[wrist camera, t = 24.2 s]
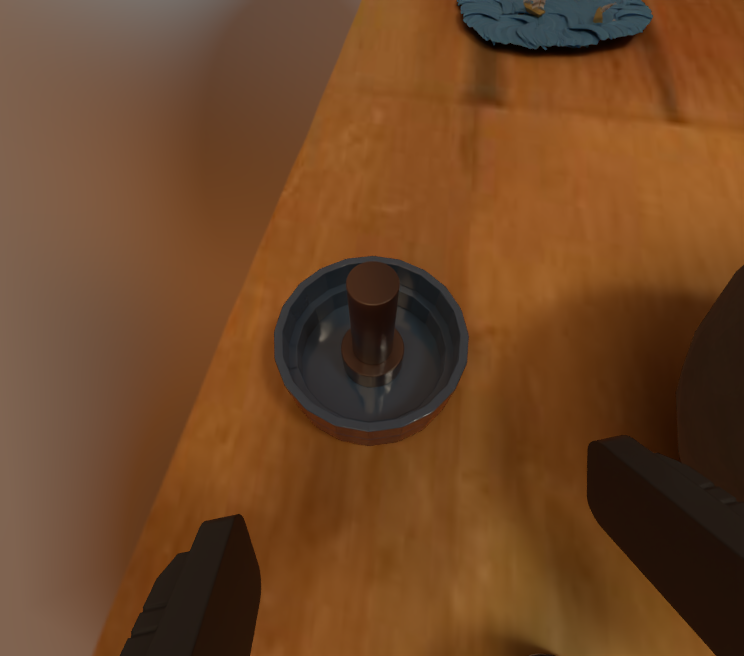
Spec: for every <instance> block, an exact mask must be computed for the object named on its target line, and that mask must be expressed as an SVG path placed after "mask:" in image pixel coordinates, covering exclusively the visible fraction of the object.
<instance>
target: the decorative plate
mask: <svg viewBox="0 0 744 656" xmlns="http://www.w3.org/2000/svg"><path fill="white" fill-rule="evenodd" d="M457 2H458V6H459V5H462V6H461V14H463V13H464V15H463V17H465V18H464V19H463V21H464V22H465V23H467V25H468V26H469V27H473V28H474V29H475V30H476V31H477V32H478V33H479V35H481V36H482V38H483V39H485V40H486V41H488V40H490V39H491V41H492V43H493V45H495V42H501V43H503V44H508V43H512V44H515V45H521V46H524V47H528V48H529V49H531V48H534V49H537V48H538V47H539V46H541V47H542V48H543V49H544V50H547V48H546V47H545V46H547V47H550V46H553V45H556V46H558V47H560V46H562V47H563V46H566V47H571V48H576V47H577V48H580V47H581V46H585V47H587V48H588V47H589V46H588V45H590V44H594V45H597V44H598V41H599V40H600V39H601V40H606V39H608V38H610V39H611V40H612V39H613V38H614V39H616V38H617V37H621V36H624V37H625V36H627V35H635V34H637V33H639V32H643V31H642V30H644V28H646V25H648V24H649V23H650V21H651V19H652V17H653V15H651V12H652V11H651V10H650V9H649V8H648V6H646V5H645V3H643V2H642V1H641V0H457ZM518 13H525V14H523V15H518ZM570 27H571V28H570ZM584 29H588V30H592V31H588V30H584Z"/></svg>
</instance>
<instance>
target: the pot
mask: <svg viewBox="0 0 744 656" xmlns="http://www.w3.org/2000/svg"><path fill="white" fill-rule="evenodd" d="M676 409H677V432H678V452H679V456H680V460H681V463H684V464H686V465H688V466H690V467H691V468H693V469H694V470H695V471H697V472H698V473H700V474H701V475H703V476H704V477H706V478H707V479H709V480H710V481H712V482H713V483H714V485H715V486H716V487H718V486H719V487H721V488H722V489H724V490H725V491H727V492H728V493H729V494H731V495H732V496H734V497H735V498H736V500H737V501H738V502H743V503H744V265H743V266H742V267H741V268H740V269H739V270H738V271H737V272H736V273H735V274H734V276H733V277H732V279H731V280H730V281H729V283H728V284H727V286H726V287H725V289H724V290H723V292H722V293H721V295H720V296H719V297H718V299H717V300H716V302H715V303H714V305H713V306H712V308H711V309H710V311H709V312H708V314H707V315H706V316H705V318H704V319H703V321H702V322H701V324H700V325H699V327H698V328H697V330H696V331H695V334H694V336H693V339H692V342H691V345H690V348H689V350H688V353H687V356H686V359H685V362H684V365H683V368H682V372H681V375H680V379H679V383H678V387H677V390H676Z"/></svg>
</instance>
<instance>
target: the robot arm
mask: <svg viewBox="0 0 744 656" xmlns="http://www.w3.org/2000/svg"><path fill="white" fill-rule="evenodd" d="M587 499H588V504H589V507H590V509H591V512H592V514H593V516H594V518H595V519H596V521H597V522H598V524H599V525H600V526H601V527H602V528H603V530H604V531H605V532H606V533H607V534H608V535H609V536H610V537H611V539H612V540H613V541H614V542H615V543H616V544H617V545H618V546H619V547H620V549H621V550H622V551H623V552H624V553H625V554H626V555H627V556H628V558H629V559H630V560H631V561H632V562H633V563H634V564H635V565H636V566H637V568H638V569H639V570H640V571H641V572H642V573H643V574H644V575H645V577H646V578H647V579H648V580H649V581H650V582H651V583H652V584H653V585H654V587H655V588H656V589H657V590H658V591H659V592H660V593H661V594H662V596H663V597H664V598H665V599H666V600H667V601H668V602H669V603H670V605H671V606H672V607H673V608H674V609H675V610H676V611H677V612H678V613H679V615H680V616H681V617H682V618H683V619H684V620H685V621H686V622H687V624H688V625H689V626H690V627H691V628H692V629H693V630H694V631H695V632H696V634H697V635H698V636H699V637H700V638H701V639H702V640H703V641H704V643H705V644H706V645H707V646H708V647H709V648H710V649H711V650H712V651H713V653H714V654H715V655H716V656H744V503H743V502H738V501H737V500H736V498H735V497H734V496H732V495H731V494H729V493H728V492H727V491H725V490H724V489H722V488H721V487H719V486H718V487H716V486H715V485H714V483H713V482H712V481H710V480H709V479H707V478H706V477H704V476H703V475H701V474H700V473H698V472H697V471H695V470H694V469H693V468H691V467H690V466H688V465H686V464H684V463H681V462H679V461H676V460H674V459H672V458H669V457H667V456H665V455H662V454H660V453H653V452H651V451H650V450H649V449H647V448H646V447H644V446H643V445H641V444H640V443H639V442H637V441H636V440H634V439H633V438H631V437H630V436H627V435H621V436H616V437H611V438H606V439H601V440H597V441H592V442H591V443H590V444H589V446H588V456H587ZM260 596H261V576H260V569H259V565H258V562H257V559H256V555H255V552H254V549H253V546H252V543H251V540H250V536H249V533H248V530H247V527H246V524H245V521H244V518H243V517H242V515H240V514H237V515H232V516H227V517H222V518H218V519H213V520H208V521H205V522H203V523H202V524H201V526H200V528H199V530H198V533H197V535H196V537H195V540H194V542H193V545H192V547H191V549H190V551H189V552H184V553H179V554H177V555H176V557H175V558H174V559H173V560H172V561H171V563H170V564H169V565H168V566H167V567H166V568H165V570H164V571H163V572H162V573H161V574H160V576H159V577H158V578H157V579H156V581H155V583H154V585H153V587H152V590H151V592H150V594H149V596H148V598H147V600H146V602H145V604H144V606H143V612H142V613H140V614H139V617H138V619H137V621H136V623H135V625H134V627H133V629H132V631H131V638H128V639H127V641H126V644H125V646H124V648H123V650H122V652H121V654H120V656H250V653H251V647H252V642H253V636H254V631H255V625H256V620H257V614H258V609H259V603H260Z"/></svg>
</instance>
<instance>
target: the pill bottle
mask: <svg viewBox="0 0 744 656" xmlns="http://www.w3.org/2000/svg"><path fill="white" fill-rule="evenodd" d="M529 656H554V655H550V654H533V655H529Z"/></svg>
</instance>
